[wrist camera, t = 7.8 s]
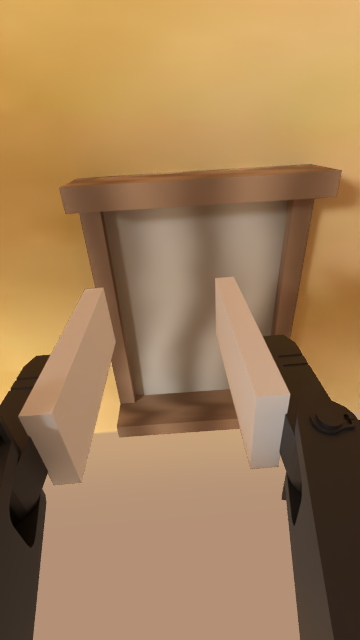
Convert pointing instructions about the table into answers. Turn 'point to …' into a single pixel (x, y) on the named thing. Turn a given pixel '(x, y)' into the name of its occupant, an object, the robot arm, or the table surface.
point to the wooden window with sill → (192, 277)
